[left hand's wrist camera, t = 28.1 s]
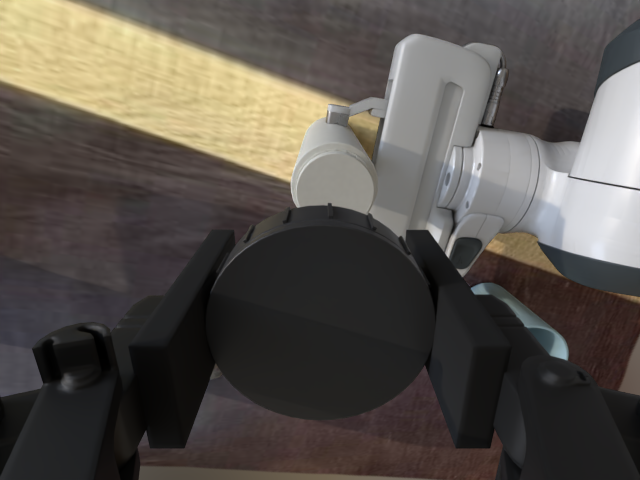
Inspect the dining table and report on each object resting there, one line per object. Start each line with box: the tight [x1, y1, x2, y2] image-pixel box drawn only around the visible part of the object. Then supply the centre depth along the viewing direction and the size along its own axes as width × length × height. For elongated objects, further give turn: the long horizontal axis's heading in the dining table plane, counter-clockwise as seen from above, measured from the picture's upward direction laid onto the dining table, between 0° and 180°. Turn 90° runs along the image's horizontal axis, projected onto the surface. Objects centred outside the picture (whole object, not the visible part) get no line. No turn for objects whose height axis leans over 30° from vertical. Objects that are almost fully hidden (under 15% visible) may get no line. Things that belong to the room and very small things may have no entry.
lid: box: [205, 203, 436, 420], centre depth 11 cm, size 6×6×2 cm
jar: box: [291, 117, 378, 215], centre depth 31 cm, size 5×5×19 cm
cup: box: [471, 283, 569, 361], centre depth 42 cm, size 8×8×10 cm
